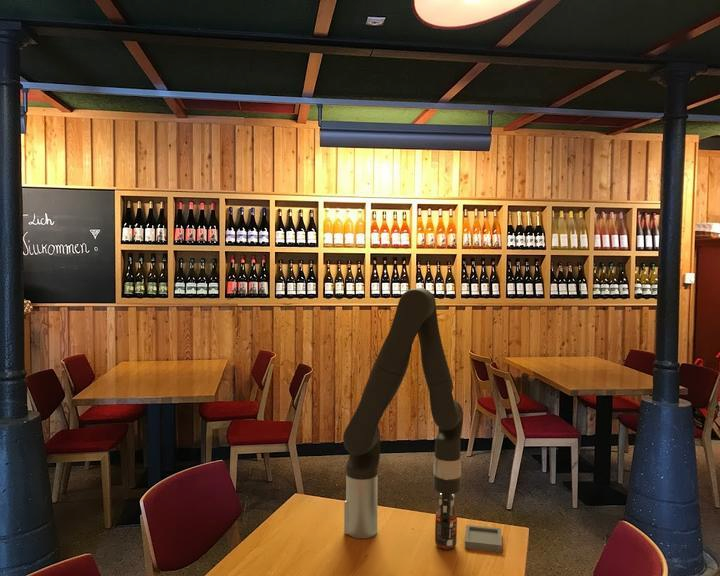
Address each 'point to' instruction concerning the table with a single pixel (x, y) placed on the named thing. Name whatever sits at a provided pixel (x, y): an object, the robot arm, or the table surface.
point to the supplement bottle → (452, 538)
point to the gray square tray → (483, 538)
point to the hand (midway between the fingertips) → (446, 531)
